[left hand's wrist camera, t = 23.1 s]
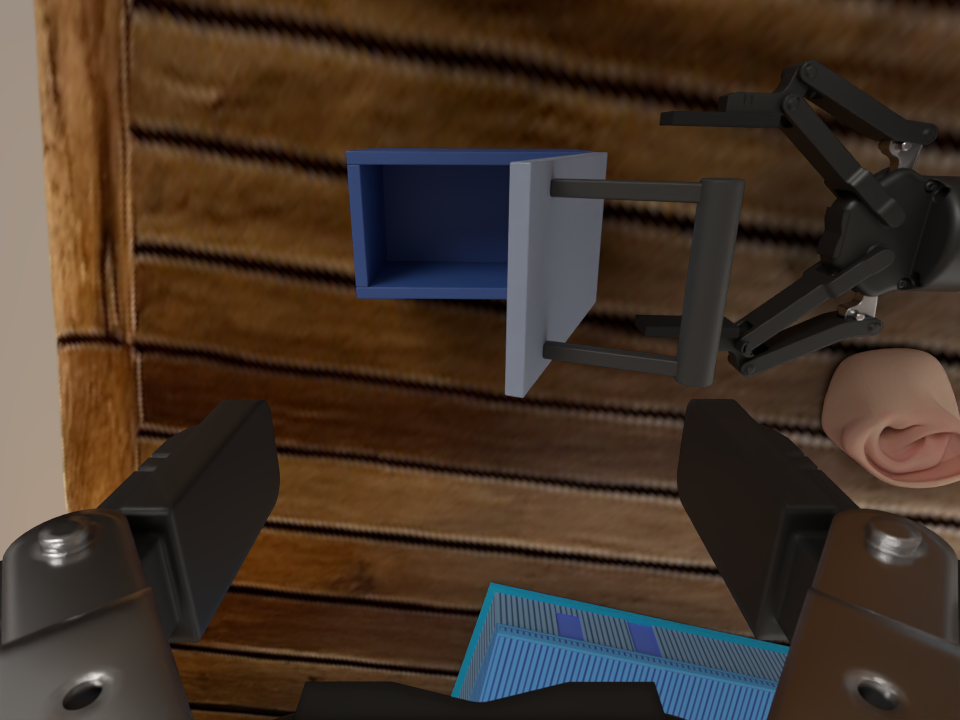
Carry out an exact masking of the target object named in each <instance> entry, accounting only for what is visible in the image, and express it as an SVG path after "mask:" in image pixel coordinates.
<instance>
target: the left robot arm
mask: <svg viewBox="0 0 960 720" xmlns="http://www.w3.org/2000/svg"><path fill="white" fill-rule="evenodd" d="M677 485H678V492H679V497H680V500H681V503H682V505H683V507H684V509H685V510H686V512H687V514H688V516H689V518H690V519H691V521H692V523H693V525H694V527H695V529H696V530H697V532H698V534H699V536H700V538H701V539H702V541H703V543H704V545H705V547H706V549H707V550H708V552H709V554H710V556H711V558H712V559H713V561H714V563H715V565H716V567H717V569H718V570H719V572H720V574H721V576H722V578H723V579H724V581H725V583H726V585H727V587H728V589H729V590H730V592H731V594H732V596H733V598H734V599H735V601H736V603H737V605H738V607H739V609H740V610H741V612H742V614H743V616H744V618H745V619H746V621H747V623H748V625H749V627H750V629H751V630H752V632H753V634H754V636H755V638H756V639H757V640H788V641H789V642H790V644H791V645H790V648H789V651H788V654H787V657H786V660H785V663H784V666H783V670H782V673H781V676H780V679H779V682H778V685H777V688H776V691H775V695H774V698H773V701H772V704H771V707H770V710H769V713H768V716H767V720H960V560H957V556H956V554H955V552H954V550H953V549H952V548H951V546H950V545H949V544H948V543H947V542H946V541H945V540H944V539H942V538H941V537H940V536H938V535H937V534H936V533H934V532H933V531H931V530H929V529H928V528H926V527H924V526H922V525H920V524H918V523H916V522H914V521H912V520H909V519H907V518H904V517H901V516H898V515H896V514H892V513H888V512H884V511H879V510H873V509H860V508H859V507H858V506H857V505H856V504H855V503H854V502H853V501H852V500H851V499H850V498H849V497H848V496H847V495H846V494H845V493H844V492H843V491H842V490H841V489H840V488H839V487H838V486H837V485H836V484H835V483H834V482H833V481H832V480H831V479H830V478H828V477H827V476H826V475H825V474H824V473H823V472H822V471H821V470H818V469H817V466H816V465H815V464H814V463H813V462H812V461H811V460H810V459H809V458H808V457H804V453H803V452H802V451H801V450H800V449H799V448H798V447H797V446H796V445H795V444H794V443H793V442H792V441H791V440H790V439H789V438H787V437H786V436H784V435H782V434H780V433H778V432H776V431H774V430H773V429H771V428H769V427H767V426H765V425H763V424H757V423H756V422H755V420H754V419H753V418H752V417H751V416H750V415H749V414H748V413H747V412H746V411H745V410H744V409H743V408H742V407H741V406H740V405H739V404H738V403H737V402H736V401H735V400H733V399H692V400H691V401H690V402H689V404H688V406H687V409H686V414H685V421H684V428H683V435H682V442H681V449H680V456H679V463H678V471H677ZM279 486H280V472H279V465H278V458H277V451H276V444H275V437H274V430H273V423H272V416H271V411H270V407H269V405H268V403H267V402H266V401H265V400H223V401H221V402H220V403H219V404H218V405H217V406H216V407H215V408H214V409H213V410H212V411H211V412H210V413H209V414H208V416H207V417H206V418H205V419H204V420H203V421H202V422H201V423H200V424H199V425H193V426H191V427H189V428H187V429H185V430H184V431H182V432H180V433H178V434H176V435H174V436H173V437H171V438H169V439H168V440H167V441H166V442H164V443H163V444H162V445H161V446H160V447H159V448H158V449H157V450H156V451H155V452H154V453H153V454H152V458H148V459H147V460H146V461H145V462H144V463H143V464H142V465H141V466H140V467H139V468H138V471H135V472H134V473H132V474H131V475H130V476H129V477H128V478H127V479H126V480H125V481H124V482H123V483H122V484H121V485H120V486H119V487H118V488H117V489H116V490H115V491H114V492H113V493H112V494H111V495H110V496H109V497H108V498H107V499H106V500H105V501H104V502H103V503H102V504H100V505H99V506H98V507H97V508H96V509H87V510H81V511H76V512H72V513H68V514H64V515H62V516H59V517H56V518H53V519H51V520H48V521H46V522H44V523H42V524H40V525H38V526H36V527H34V528H32V529H31V530H29V531H27V532H26V533H24V534H23V535H22V536H20V537H19V538H18V539H16V540H15V541H14V542H13V543H12V544H11V545H10V546H9V548H8V549H7V550H6V552H5V554H4V556H3V560H2V561H0V720H193V716H192V713H191V710H190V707H189V704H188V701H187V698H186V695H185V691H184V688H183V685H182V682H181V679H180V676H179V673H178V670H177V666H176V663H175V660H174V657H173V654H172V651H171V648H170V645H169V642H199V641H200V639H201V637H202V635H203V633H204V632H205V630H206V628H207V626H208V624H209V623H210V621H211V619H212V617H213V615H214V614H215V612H216V610H217V608H218V606H219V605H220V603H221V601H222V599H223V597H224V596H225V594H226V592H227V590H228V588H229V587H230V585H231V583H232V581H233V579H234V578H235V576H236V574H237V572H238V571H239V569H240V567H241V565H242V563H243V562H244V560H245V558H246V556H247V554H248V553H249V551H250V549H251V547H252V545H253V544H254V542H255V540H256V538H257V536H258V535H259V533H260V531H261V529H262V527H263V526H264V524H265V522H266V520H267V518H268V517H269V515H270V513H271V511H272V509H273V508H274V506H275V504H276V501H277V498H278V493H279ZM274 720H686V719H684V718H681V717H678V716H675V715H671V714H667V713H664V710H663V707H662V704H661V701H660V698H659V694H658V691H657V688H656V685H655V682H565V683H561V684H557V685H553V686H549V687H545V688H541V689H537V690H532V691H528V692H524V693H520V694H516V695H512V696H508V697H504V698H500V699H496V700H492V701H486V702H474V701H468V700H464V699H460V698H456V697H452V696H448V695H444V694H440V693H436V692H432V691H428V690H423V689H419V688H415V687H411V686H407V685H403V684H399V683H395V682H305V685H304V688H303V691H302V694H301V698H300V701H299V704H298V707H297V710H296V713H293V714H289V715H285V716H282V717H279V718H276V719H274Z"/></svg>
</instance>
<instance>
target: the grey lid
mask: <svg viewBox="0 0 960 720" xmlns="http://www.w3.org/2000/svg"><path fill="white" fill-rule="evenodd" d="M606 166H607V152H593V153H584V154H576V155H567V156H558V157H550V158H541V159H533V160H524V161H515V162H510V188H509V234H508V281H507V327H506V373H505V395H508V396H514V397H521V398H523V397H524V396H525V395H526V393H527V392H528V391H529V389H530V388H531V387H532V385H533V384H534V383H535V381H536V380H537V379H538V378H539V376H540V375H541V374H542V372H543V371H544V370H545V368H546V367H547V366H548V364H549V363H550V362H551V360H557V361H564V362H571V363H579V364H586V365H593V366H601V367H608V368H615V369H623V370H630V371H637V372H645V373H652V374H659V375H667V376H674V379H675V380H676V381H677V382H679V383H681V384H683V385H687V386H692V387H706V386H710V385H711V384H712V383H713V379H714V373H715V367H716V360H717V354H718V348H719V342H720V336H721V329H722V323H723V317H724V311H725V305H726V298H727V292H728V286H729V280H730V274H731V267H732V261H733V255H734V249H735V243H736V236H737V230H738V224H739V218H740V212H741V205H742V199H743V193H744V187H745V180H743V179H733V178H702V179H701V180H700V182H670V181H635V180H605V179H606ZM604 199H611V200H636V201H661V202H686V203H697V209H696V216H695V223H694V231H693V238H692V246H691V253H690V261H689V268H688V276H687V283H686V290H685V298H684V305H683V313H682V320H681V328H680V335H679V342H678V350H677V357H676V356H668V355H660V354H652V353H644V352H636V351H628V350H620V349H612V348H604V347H596V346H588V345H580V344H572V343H565V342H566V341H567V339H568V338H569V337H570V335H571V334H572V333H573V331H574V330H575V329H576V327H577V326H578V325H579V323H580V322H581V321H582V319H583V318H584V317H585V315H586V314H587V313H588V312H589V310H590V309H591V308H592V306H593V305H594V304H595V302H596V294H597V281H598V268H599V255H600V243H601V230H602V217H603V204H604Z"/></svg>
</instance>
